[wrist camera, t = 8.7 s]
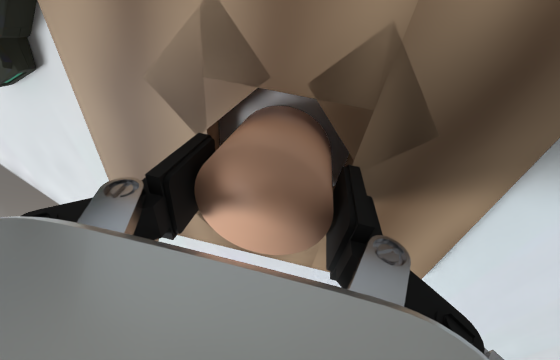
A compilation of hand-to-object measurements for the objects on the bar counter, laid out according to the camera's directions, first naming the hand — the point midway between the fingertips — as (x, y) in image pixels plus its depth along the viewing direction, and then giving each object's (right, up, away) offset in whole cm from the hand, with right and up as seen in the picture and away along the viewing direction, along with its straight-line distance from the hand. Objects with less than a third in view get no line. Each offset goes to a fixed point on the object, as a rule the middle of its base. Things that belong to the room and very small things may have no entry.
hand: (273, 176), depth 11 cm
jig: (0, +1, +2) cm, 2 cm away
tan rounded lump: (0, +1, +2) cm, 3 cm away
